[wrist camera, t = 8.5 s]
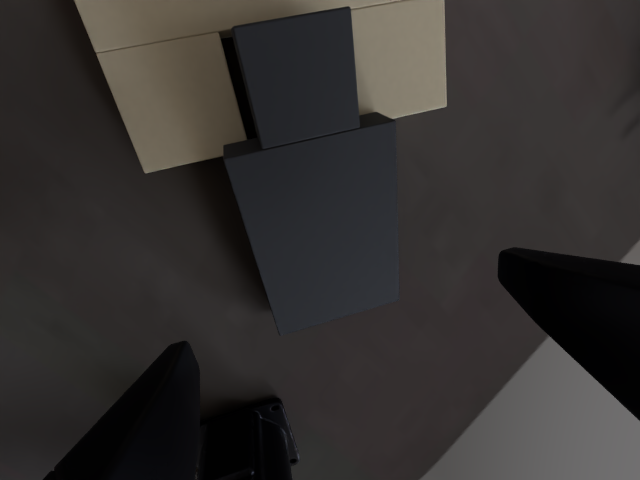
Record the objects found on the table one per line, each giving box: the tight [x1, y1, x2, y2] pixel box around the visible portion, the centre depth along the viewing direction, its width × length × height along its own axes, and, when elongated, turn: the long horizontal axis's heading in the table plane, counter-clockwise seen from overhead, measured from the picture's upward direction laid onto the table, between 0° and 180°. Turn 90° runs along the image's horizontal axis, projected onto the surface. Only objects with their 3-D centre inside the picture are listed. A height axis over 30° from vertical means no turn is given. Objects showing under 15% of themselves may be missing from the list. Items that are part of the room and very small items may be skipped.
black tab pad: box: [223, 6, 399, 336], centre depth 15 cm, size 14×7×2 cm, turn 11°
